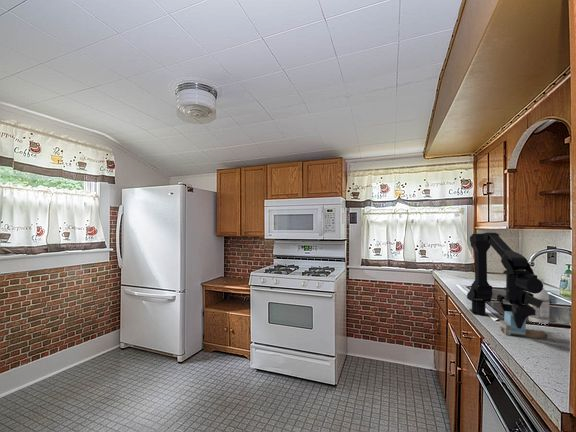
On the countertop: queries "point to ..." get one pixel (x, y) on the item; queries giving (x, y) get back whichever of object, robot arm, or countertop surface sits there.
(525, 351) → the countertop surface
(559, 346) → the countertop surface
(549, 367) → the countertop surface
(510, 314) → the block
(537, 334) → the rail
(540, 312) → the bath foam
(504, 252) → the robot arm
